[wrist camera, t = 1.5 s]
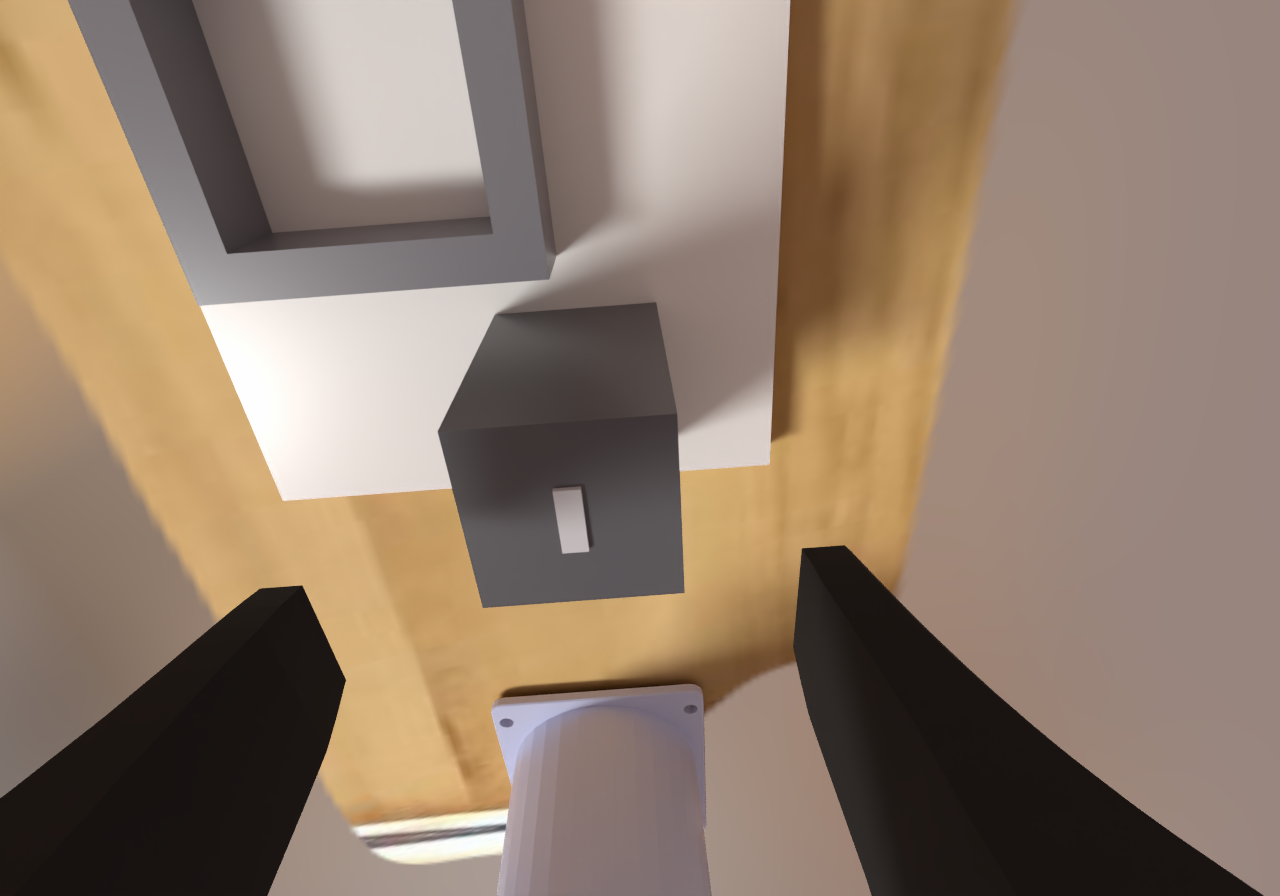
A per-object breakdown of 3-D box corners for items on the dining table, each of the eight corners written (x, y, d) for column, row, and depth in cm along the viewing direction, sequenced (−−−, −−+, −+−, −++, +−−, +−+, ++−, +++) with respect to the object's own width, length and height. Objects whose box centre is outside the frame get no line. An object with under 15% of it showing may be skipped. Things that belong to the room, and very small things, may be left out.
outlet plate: (762, 447, 19) (785, 505, 17) (297, 481, 19) (249, 545, 17) (786, -190, 12) (833, -261, 10) (50, -133, 12) (-104, -190, 10)
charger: (663, 442, 18) (684, 596, 13) (520, 452, 18) (481, 611, 13) (656, 302, 16) (677, 416, 11) (494, 314, 16) (435, 434, 11)
